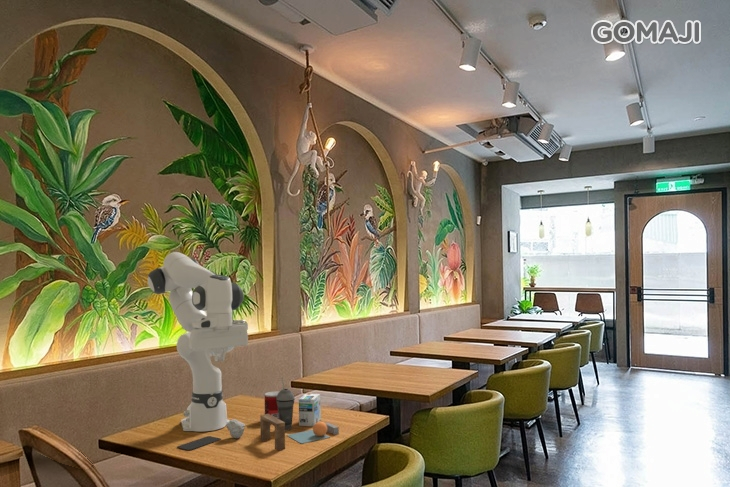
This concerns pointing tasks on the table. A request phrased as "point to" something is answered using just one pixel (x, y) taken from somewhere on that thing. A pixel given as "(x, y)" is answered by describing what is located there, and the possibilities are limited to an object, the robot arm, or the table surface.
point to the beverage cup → (285, 406)
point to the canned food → (271, 404)
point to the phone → (198, 443)
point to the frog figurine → (235, 428)
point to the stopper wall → (332, 428)
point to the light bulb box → (309, 409)
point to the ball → (320, 429)
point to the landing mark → (306, 437)
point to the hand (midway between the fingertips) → (219, 361)
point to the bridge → (279, 430)
